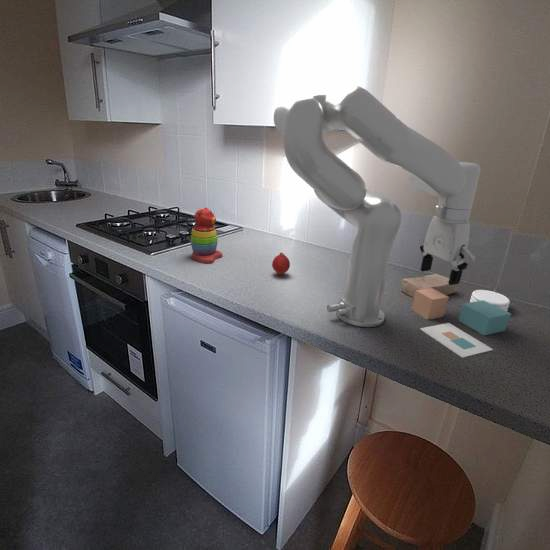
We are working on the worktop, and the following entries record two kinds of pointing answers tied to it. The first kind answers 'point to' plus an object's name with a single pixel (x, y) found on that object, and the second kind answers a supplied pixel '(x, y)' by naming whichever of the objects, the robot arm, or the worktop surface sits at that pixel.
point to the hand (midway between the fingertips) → (438, 277)
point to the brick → (427, 284)
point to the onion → (281, 264)
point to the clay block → (429, 303)
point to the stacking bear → (204, 237)
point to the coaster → (491, 298)
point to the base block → (484, 317)
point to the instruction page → (456, 340)
